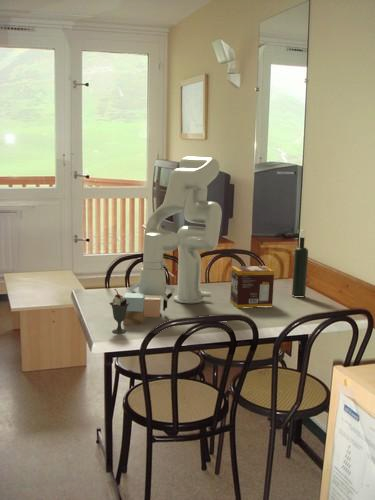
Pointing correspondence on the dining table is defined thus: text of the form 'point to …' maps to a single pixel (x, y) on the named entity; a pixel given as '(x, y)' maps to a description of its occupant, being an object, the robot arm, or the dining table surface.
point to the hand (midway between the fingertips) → (151, 309)
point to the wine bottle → (300, 268)
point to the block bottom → (134, 317)
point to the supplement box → (251, 286)
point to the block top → (135, 301)
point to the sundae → (119, 311)
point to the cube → (152, 307)
